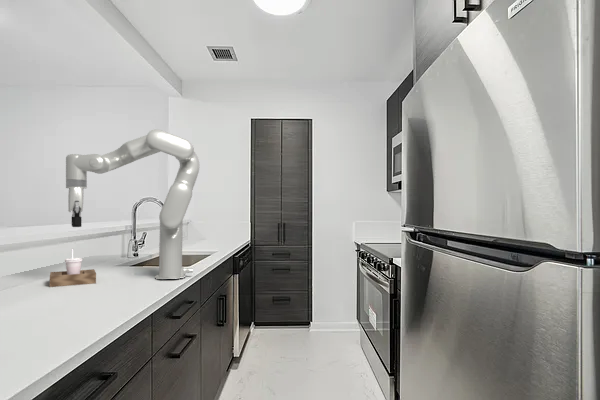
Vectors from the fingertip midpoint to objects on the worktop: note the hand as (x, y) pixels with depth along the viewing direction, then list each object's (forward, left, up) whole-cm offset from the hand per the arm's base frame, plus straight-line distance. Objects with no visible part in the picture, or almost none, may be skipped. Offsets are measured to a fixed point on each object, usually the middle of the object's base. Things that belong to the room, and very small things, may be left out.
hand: (76, 226), depth 167 cm
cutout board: (+1, 0, -23) cm, 23 cm away
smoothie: (+1, 0, -23) cm, 23 cm away
